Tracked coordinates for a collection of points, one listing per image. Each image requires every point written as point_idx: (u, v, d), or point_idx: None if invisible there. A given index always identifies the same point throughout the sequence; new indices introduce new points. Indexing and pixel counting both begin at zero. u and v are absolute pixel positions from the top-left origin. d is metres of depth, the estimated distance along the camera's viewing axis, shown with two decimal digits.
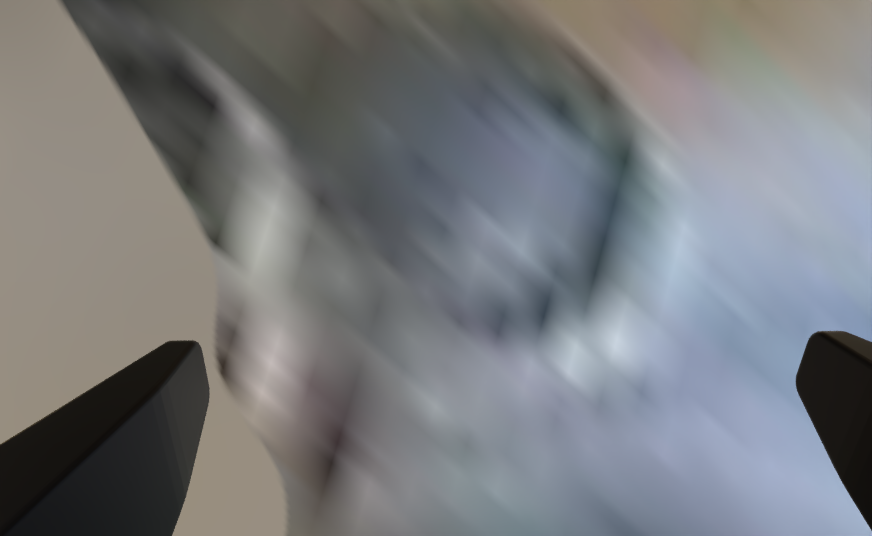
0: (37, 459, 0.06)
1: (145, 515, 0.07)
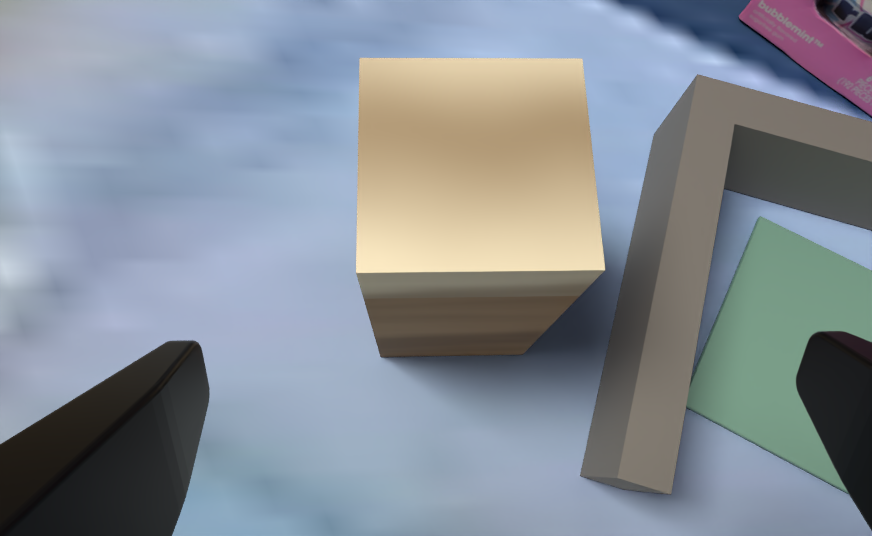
0: (37, 459, 0.06)
1: (145, 515, 0.07)
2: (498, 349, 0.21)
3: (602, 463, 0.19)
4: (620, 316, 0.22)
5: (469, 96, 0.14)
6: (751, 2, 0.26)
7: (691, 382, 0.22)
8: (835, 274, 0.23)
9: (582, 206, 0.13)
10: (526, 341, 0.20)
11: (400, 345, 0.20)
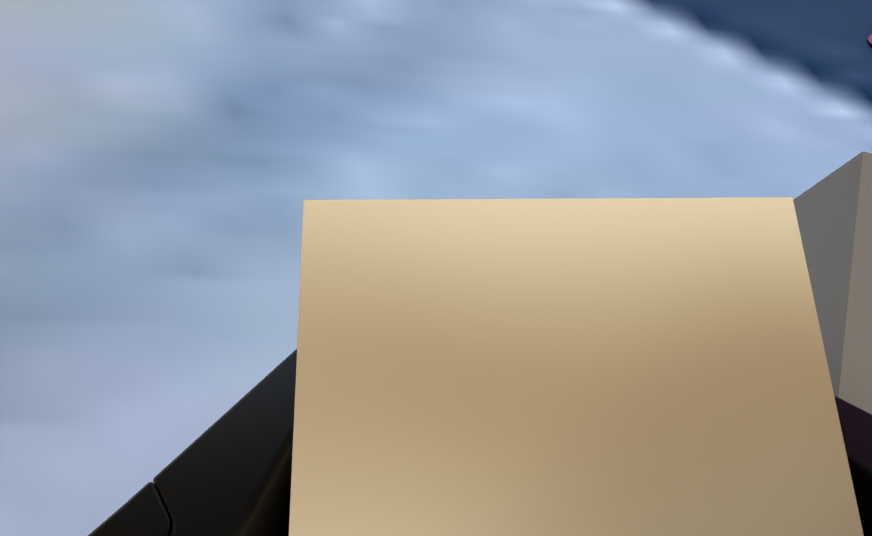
0: (241, 455, 0.06)
1: None
2: None
3: None
4: None
5: (550, 291, 0.06)
6: None
7: None
8: None
9: None
10: None
11: None
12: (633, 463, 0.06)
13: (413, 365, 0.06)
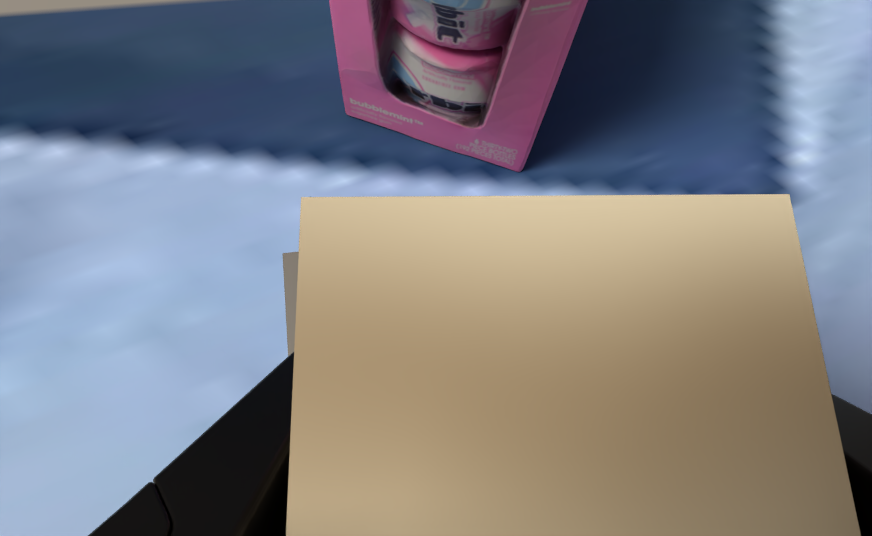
0: (241, 454, 0.06)
1: None
2: None
3: None
4: None
5: (547, 288, 0.06)
6: (344, 100, 0.25)
7: None
8: None
9: None
10: None
11: None
12: (630, 459, 0.06)
13: (410, 362, 0.06)
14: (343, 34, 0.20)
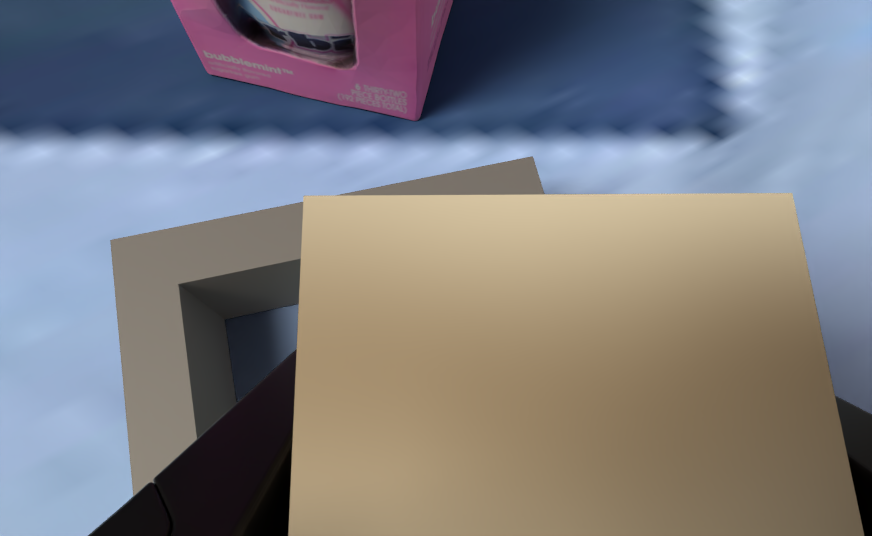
0: (241, 454, 0.06)
1: None
2: None
3: None
4: None
5: (550, 287, 0.06)
6: (199, 55, 0.21)
7: None
8: None
9: None
10: None
11: None
12: (633, 458, 0.06)
13: (413, 361, 0.06)
14: None
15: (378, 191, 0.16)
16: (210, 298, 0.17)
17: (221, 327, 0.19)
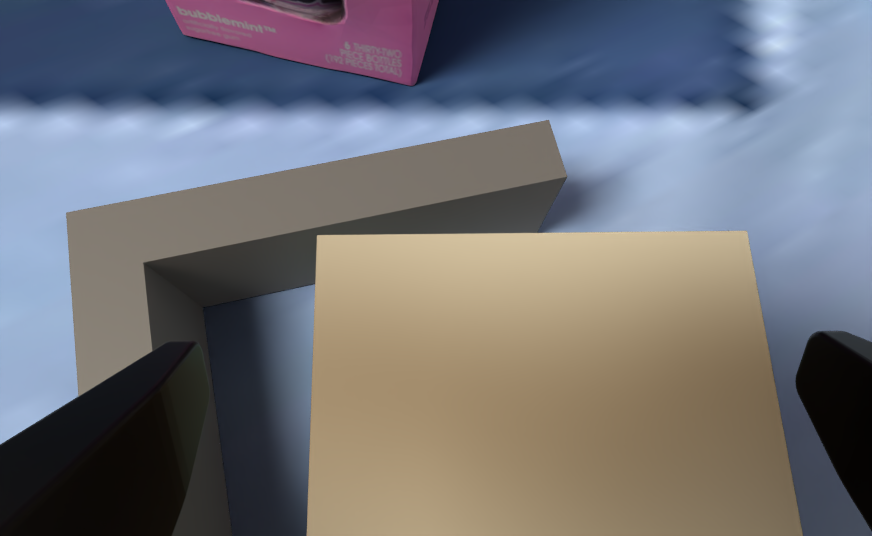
0: (37, 459, 0.06)
1: (145, 515, 0.07)
2: None
3: None
4: None
5: (533, 315, 0.07)
6: (172, 12, 0.19)
7: None
8: None
9: None
10: None
11: None
12: (604, 465, 0.07)
13: (413, 381, 0.07)
14: None
15: (373, 158, 0.14)
16: (183, 281, 0.15)
17: (198, 315, 0.17)
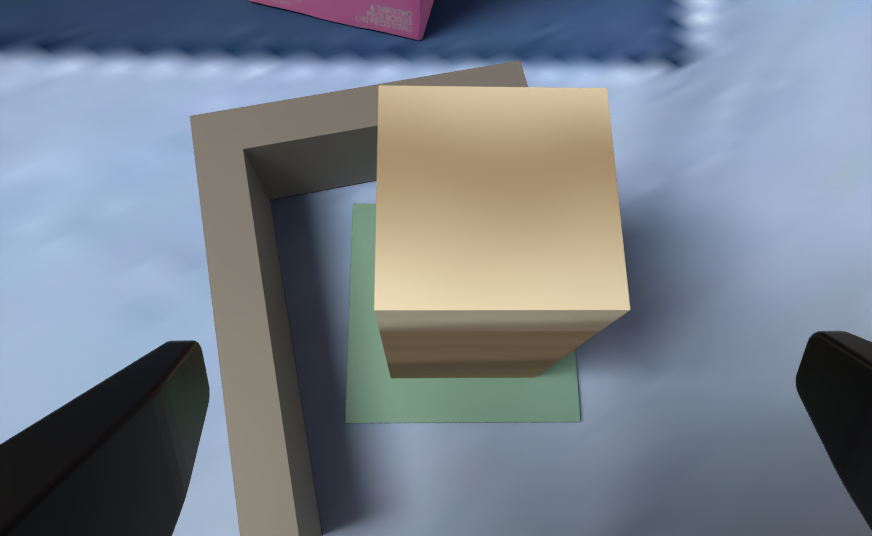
0: (37, 459, 0.06)
1: (145, 515, 0.07)
2: (510, 373, 0.21)
3: None
4: None
5: (491, 126, 0.13)
6: None
7: (346, 397, 0.21)
8: None
9: (606, 243, 0.13)
10: (540, 367, 0.19)
11: (411, 369, 0.20)
12: (523, 195, 0.13)
13: (428, 155, 0.13)
14: None
15: (398, 84, 0.21)
16: (263, 170, 0.21)
17: (268, 203, 0.23)
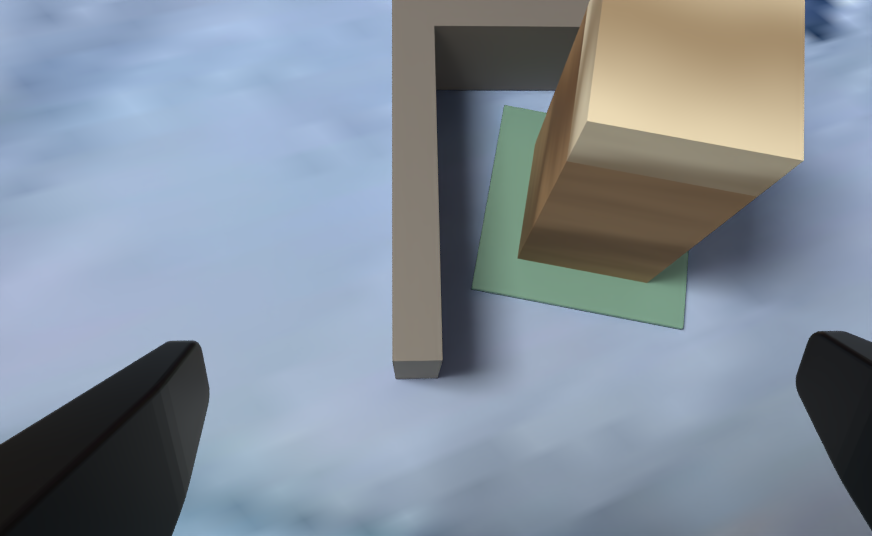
0: (37, 459, 0.06)
1: (145, 515, 0.07)
2: (630, 269, 0.23)
3: None
4: None
5: None
6: None
7: (475, 267, 0.24)
8: None
9: (789, 105, 0.15)
10: (664, 261, 0.21)
11: (547, 243, 0.22)
12: (722, 56, 0.15)
13: (645, 11, 0.15)
14: None
15: None
16: (440, 54, 0.24)
17: None
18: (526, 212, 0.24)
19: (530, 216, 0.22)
